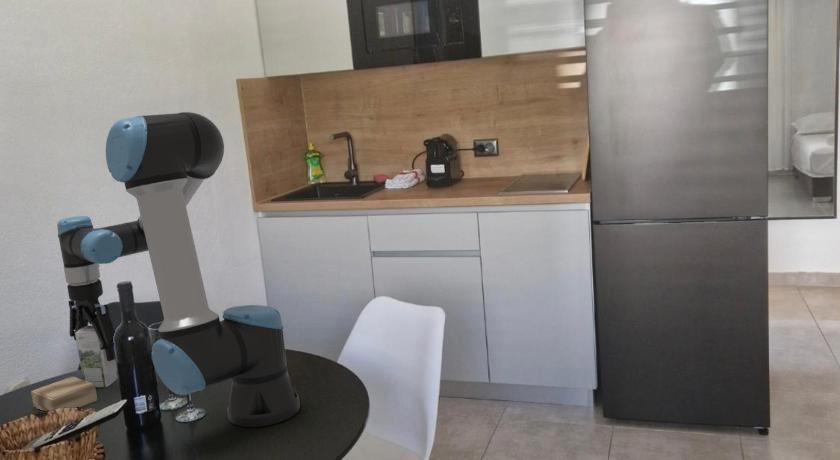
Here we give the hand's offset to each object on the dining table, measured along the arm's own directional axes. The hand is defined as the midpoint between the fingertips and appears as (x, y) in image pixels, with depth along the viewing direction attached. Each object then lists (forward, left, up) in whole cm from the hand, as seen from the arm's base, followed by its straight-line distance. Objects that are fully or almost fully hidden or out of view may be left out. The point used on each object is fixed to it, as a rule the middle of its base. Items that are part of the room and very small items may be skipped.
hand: (98, 368), depth 187 cm
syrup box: (0, 0, -4) cm, 4 cm away
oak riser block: (-4, +11, -4) cm, 12 cm away
